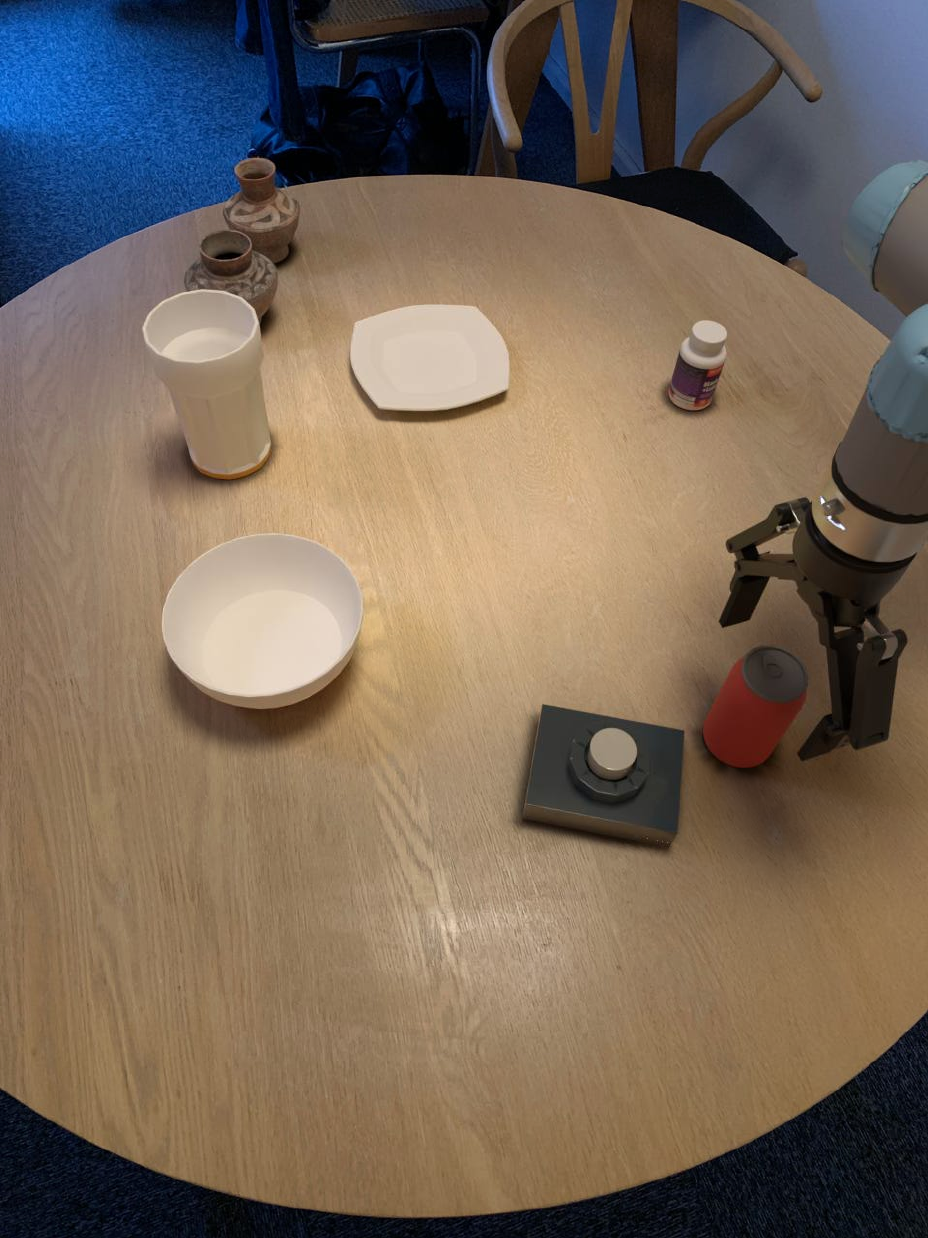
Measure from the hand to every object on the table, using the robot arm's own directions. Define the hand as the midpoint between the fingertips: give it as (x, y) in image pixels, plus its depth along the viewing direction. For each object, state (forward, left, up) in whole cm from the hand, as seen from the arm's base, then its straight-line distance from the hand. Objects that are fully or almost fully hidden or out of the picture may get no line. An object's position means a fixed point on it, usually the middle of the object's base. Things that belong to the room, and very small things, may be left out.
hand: (771, 684), depth 79 cm
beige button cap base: (+12, +7, -10) cm, 17 cm away
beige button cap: (+12, +7, -5) cm, 15 cm away
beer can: (0, 0, -10) cm, 10 cm away
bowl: (+45, 0, -10) cm, 46 cm away
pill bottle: (+7, -46, -10) cm, 47 cm away
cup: (+58, -25, -10) cm, 64 cm away
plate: (+39, -44, -10) cm, 60 cm away
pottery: (+65, -54, -10) cm, 85 cm away
